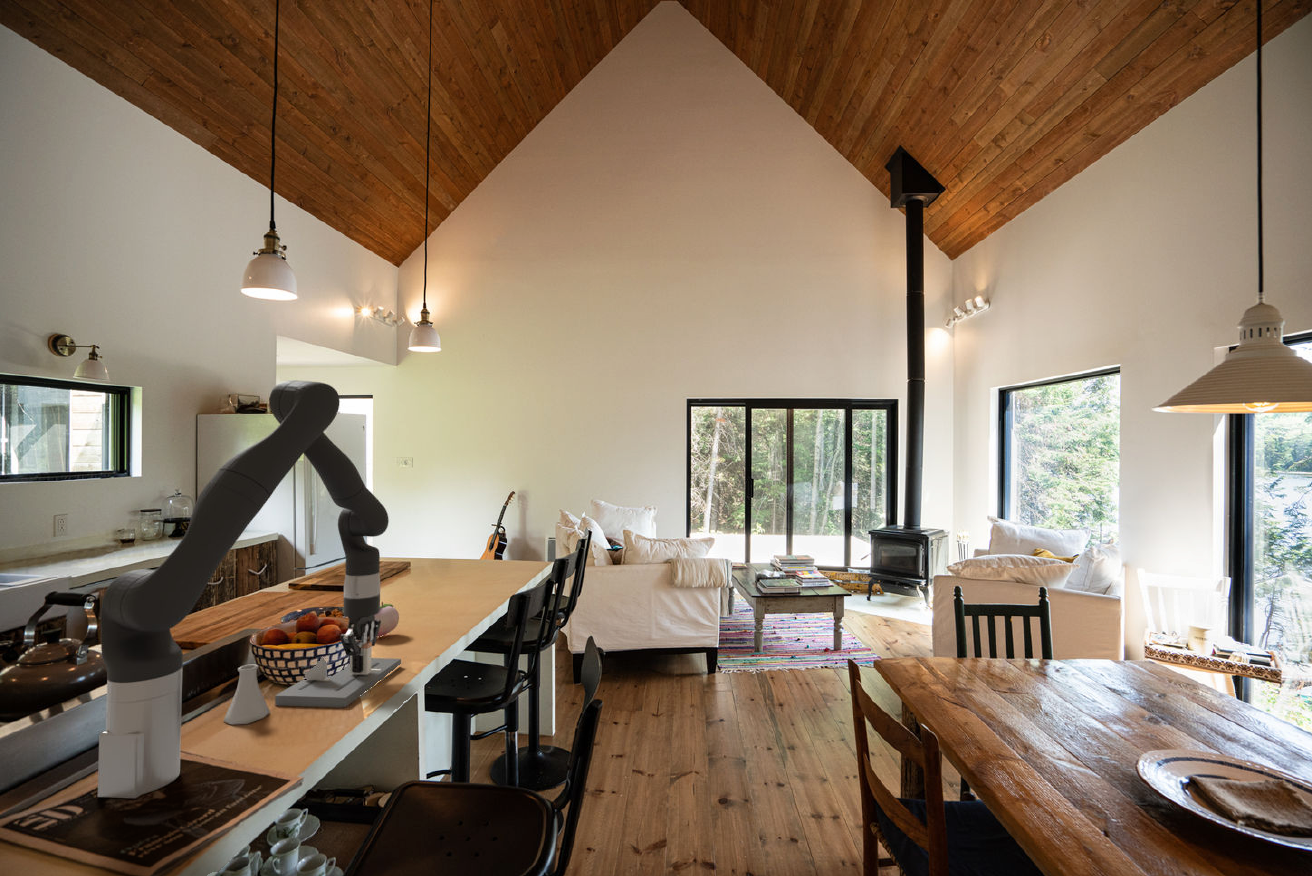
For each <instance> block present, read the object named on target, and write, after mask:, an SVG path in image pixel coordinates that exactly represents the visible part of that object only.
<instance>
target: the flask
mask: <svg viewBox="0 0 1312 876" xmlns="http://www.w3.org/2000/svg"><path fill="white" fill-rule="evenodd" d="M258 669H259V665H258V664H255V663H252V664H251V663H250V664H244V665H241V666H240V667H238V668H237V672H239V678H238V683H237V688H236V690H235V693H234V695H233V697H232V701H231V702H230V705H229V707H228V710H227V711H226V714H225V715H224V718H223V722H225V723H227V724H230V725H248V724H250V723H253V722H255V721H259V720H262V719H264V718H265V717H266V716H267V715H269V714H270V713H271V711H270V708H269V706H268V703H267V702H266V700H265V698H264V695H263V693H262V690H261V688H260V686H259V682H258V677H257V670H258Z"/></svg>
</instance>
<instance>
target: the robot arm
mask: <svg viewBox="0 0 1312 876" xmlns="http://www.w3.org/2000/svg"><path fill="white" fill-rule="evenodd" d="M340 402H341V401H340V396H339V393H338V391H337V390H336V388H334V387H333V386H332V385H331V384H327V383H324V382H320V381H311V380H310V381H309V380H308V381H307V380H297V379H296V380H286V381H285V380H284V381H281V382H279V383H277V384H276V385H275V386H274V387H273V389H271V392H270V394H269V401H268V403H269V409H270V411H271V413H272V415H273V417H274V418H275V419H276V421H277V422H278V423H279V425H278V426H277V427H276V428H275V429H274V430H273V431H272V432H271V433H269V434H268V435H267V436H265V437H263V438H262V439H261V440H259V441H257V442H256V443H254V444H252V445H250V446H249V447H247V448H245V449H244V450H242V451H240V452H238V453H237V454H236V455H234V456H233V457H231V458H230V459H229V460H228V461H226V462H225V463H224V464H223V465H222V466H221V467H220V468H219V469H218V471H216V473H215V474H214V475H213V477H212V478H211V479H210V480H209V481H208V483H207V484H206V485H205V486H204V487H203V489H202V491H201V492H200V493H199V495H198V497H197V499H196V501H195V505H194V507H193V510H192V514H191V517H190V520H189V523H188V526H187V530H186V531H185V534H184V536H183V538H182V539H181V540H180V542H179V543H178V545H177V546H176V547H175V549H173V551H172V552H171V553H170V554H169V555H168V556H167V558H166V559H165V560H164V561H163V562H162V563H161V564H160V565H159V567H157V569H148V568H147V569H145V568H144V569H132V570H130V571H127V572H125V573H122V574H121V575H119V576H118V577H116V578H115V579H114V580H112V581H111V583H110V584H109V585H108V587H107V588H106V590H105V591H104V595H103V597H102V600H101V606H100V645H101V646H100V648H101V649H100V650H101V656H102V661H103V663H104V665H105V667H106V673H107V674H106V678H107V679H106V681H107V682H106V706H105V707H106V708H105V711H106V712H105V731H102V732H101V733H99V736H98V739H99V740H98V765H97V766H98V767H97V768H98V769H97V770H98V772H97V775H98V776H97V798H115V799H116V798H117V799H137V798H138V797H140V796H142V795H144V794H148V793H150V792H154V791H157V790H159V789H161V788H163V787H165V786H168V785H170V783H171V784H172V782H174V781H175V780H176V779H177V778H178V777H179V776H180V773H181V748H182V747H181V745H182V744H181V742H182V740H181V739H182V737H181V736H182V735H181V734H182V733H181V732H182V700H183V699H182V695H183V694H182V693H183V661H184V653H183V650H182V649H181V647H180V646H179V645H178V644H177V643H176V640H175V639H174V638H173V635H172V633H171V629H172V628H174V627H176V626H177V625H178V624H180V623H181V622H182V621H183V620H184V619H185V618H186V617H187V616H188V615H189V613H190V612H191V611H192V610H193V608H194V606H196V604H197V602H198V600H199V599H200V598H201V597H202V596H201V595H202V594H203V592H204V590H205V589H206V587H207V586H208V583H209V582H210V580H211V579H212V578H213V575H214V574H215V572H216V571H217V569H218V567H219V566H220V564H221V562H222V561H223V559H224V558H225V557H226V555H227V554H228V553H229V552H230V550H231V549H232V548H233V547H234V545H235V544H236V542H237V541H238V539H240V537H241V536H242V534H243V533H244V531H245V530H246V529H247V527H248V526H249V525H250V523H251V522H252V520H253V519H254V518H255V517H256V516H257V514H259V513H260V511H261V510H262V508H263V507H264V506H265V505H266V503H267V502H268V500H269V499H270V498H271V496H272V495H273V494H274V492H275V490H276V489H277V488H278V486H279V484H280V483H281V482H282V481H283V480H284V478H285V477H286V476H287V474H288V473H289V472H290V471H291V469H292V468H293V467H294V465H296V463H297V462H298V461H299V459H300V458H301V457H302V456H303V455H304V457H306V458H307V460H308V461H309V462H310V464H311V466H312V467H313V468H314V469H315V471H316V472H317V475H318V477H320V480H321V481H322V483H323V485H324V486H325V489H326V491H327V492H328V493H329V496H330V498H331V499H332V501H333V503H334V504H335V505H336V506H337V507H338V508H341V512H340V513H339V516H338V519H337V529H338V534H339V537H340V540H341V541H340V542H341V544H342V548H343V552H344V555H345V569H344V570H345V571H344V572H345V573H344V574H345V576H344V584H343V606H342V607H343V609H342V611H343V612H342V613H343V616H344V617H346V618H348V623H347V631H346V633H341V634H340V636H339V640H340V642H341V645H342V647H343V650H344V653H345V655H346V656H348V657H350V656H352V671H353V672H354V673H361V672H362V671H363V656H364V655H363V654H364V645H365V644H366V641H368V642H372V647H375V646H376V642H377V639H378V632H379V628H380V624H381V620H375V616H374V615H376V614H378V613H379V611H380V606H381V576H380V575H381V574H380V568H381V567H380V558H381V557H380V555H381V554H380V550H379V548H377V547H375V546H374V545H373V546H372V545H370V544H368V543H367V542H366V540H365V538H364V537H372V538H373V537H379V536H381V535H382V534H384V533H385V532H386V530H387V529H388V527H389V522H390V521H389V520H390V519H389V514H388V511H387V509H386V508H385V506H384V505H383V504H382V503H381V501H380V500H379V499H378V498H377V497H376V496H375V495H374V493H372V491H370V490H369V489H368V488H367V487H366V485H365V483H364V481H363V479H362V476H361V475H360V472H359V471H358V469H357V467H356V465H355V464H354V463H353V461H352V460H351V459H350V457H348V455H346V453H344V452H343V450H341V449H340V448H339V447H338V446H337V445H336V444H335V443H334V442H333V441H332V440H331V439H330V438H329V437H328V436H327V434H326V433H325V431H326V430H327V429H328V427H329V426H330V425H332V423H333V422H334V420H335V418H336V417H337V414H338V413H339V409H340ZM357 645H358V646H359V649H358V646H357ZM350 649H351V650H350Z"/></svg>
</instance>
